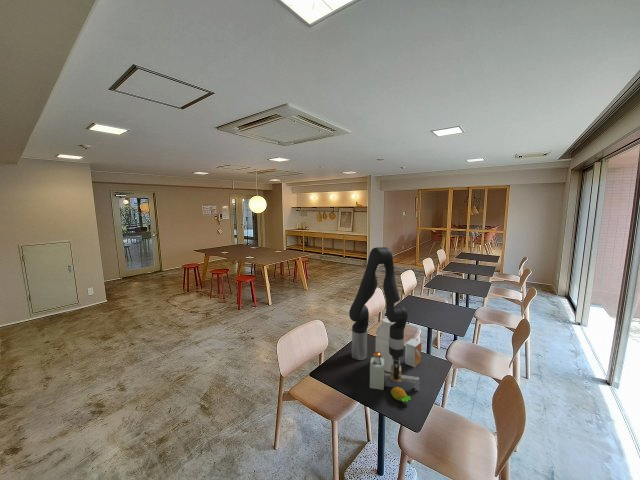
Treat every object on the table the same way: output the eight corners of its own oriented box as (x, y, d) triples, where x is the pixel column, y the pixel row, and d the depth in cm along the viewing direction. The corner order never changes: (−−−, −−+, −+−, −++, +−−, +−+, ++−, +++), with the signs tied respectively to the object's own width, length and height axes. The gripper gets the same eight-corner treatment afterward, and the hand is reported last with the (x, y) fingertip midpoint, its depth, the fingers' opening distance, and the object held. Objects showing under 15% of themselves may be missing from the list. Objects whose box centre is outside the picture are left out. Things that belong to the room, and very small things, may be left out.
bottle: (397, 359, 164) (397, 315, 161) (401, 373, 151) (402, 325, 147) (373, 358, 166) (374, 315, 162) (376, 371, 152) (376, 325, 149)
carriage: (390, 380, 138) (391, 369, 137) (390, 375, 142) (391, 364, 141) (401, 382, 136) (401, 371, 136) (400, 376, 141) (400, 365, 140)
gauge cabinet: (369, 387, 139) (369, 366, 137) (371, 377, 147) (371, 356, 146) (383, 390, 137) (383, 368, 136) (384, 379, 146) (384, 358, 144)
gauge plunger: (373, 371, 140) (373, 355, 139) (373, 366, 144) (373, 351, 143) (380, 372, 139) (381, 355, 138) (381, 367, 143) (381, 351, 142)
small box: (414, 368, 155) (415, 346, 154) (404, 363, 160) (405, 343, 158) (421, 362, 161) (421, 341, 159) (411, 358, 165) (411, 338, 164)
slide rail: (383, 385, 140) (383, 375, 139) (383, 382, 143) (384, 372, 142) (419, 391, 136) (419, 380, 135) (418, 388, 138) (418, 377, 137)
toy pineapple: (396, 391, 136) (397, 381, 135) (413, 403, 128) (414, 392, 127) (387, 397, 132) (387, 387, 131) (404, 409, 124) (404, 398, 123)
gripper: (388, 337, 145) (388, 367, 147) (388, 351, 131) (388, 383, 133) (403, 339, 143) (402, 368, 145) (404, 353, 129) (404, 385, 131)
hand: (395, 375), depth 139 cm, fingers closed on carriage, 5 cm apart
